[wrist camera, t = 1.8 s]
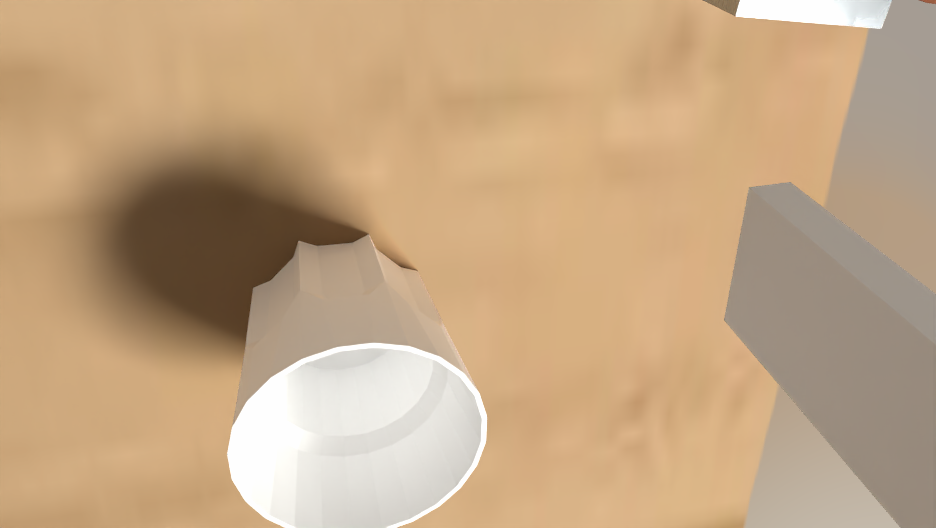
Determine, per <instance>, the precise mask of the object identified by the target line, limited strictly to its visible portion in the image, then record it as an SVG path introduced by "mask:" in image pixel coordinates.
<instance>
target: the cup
mask: <svg viewBox="0 0 936 528" xmlns="http://www.w3.org/2000/svg"><path fill="white" fill-rule="evenodd" d="M486 429H487V416H486V412H485V409H484V406H483V403H482V400H481V396H480V394H479V392H478V390H477V388H476V386H475V384H474V382H473V380H472V378H471V376H470V374H469V372H468V370H467V369H466V367H465V365H464V363H463V361H462V359H461V357H460V355H459V353H458V351H457V349H456V347H455V345H454V343H453V341H452V340H451V338H450V336H449V334H448V332H447V330H446V328H445V326H444V324H443V322H442V320H441V318H440V315H439V313H438V311H437V309H436V307H435V305H434V303H433V301H432V299H431V297H430V295H429V293H428V291H427V289H426V287H425V285H424V282H423V280H422V278H421V276H420V274H419V272H418V271H416V270H411V269H407V268H402V267H400V266H398V265H397V264H396V263H394V262H393V261H392V260H390V259H389V258H388V257H386V256H385V255H384V254H382V253H381V252H380V251H378V250H377V249H376V247H375V245H374V243H373V241H372V239H371V237H370V235H369V234H368V235H366V236H364V237H362V238H360V239H359V240H357V241H355V242H353V243H344V244H333V245H322V246H315V245H312V244H309V243H305V242H302V241H298V244H297V247H296V250H295V254H294V257H293V258H292V259H291V260H290V261H289V262H288V263H287V264H286V265H285V266H284V267H283V268H282V269H281V270H280V271H279V272H278V273H277V274H276V275H275V276H274V277H273V279H272V280H270V281H268V282H266V283H263V284H261V285H258V286H256V287H254V288H253V293H252V300H251V308H250V315H249V322H248V330H247V337H246V346H245V353H244V359H243V365H242V371H241V377H240V383H239V389H238V396H237V402H236V408H235V414H234V419H233V425H232V431H231V436H230V442H229V447H228V453H227V455H228V461H229V466H230V471H231V477H232V480H233V482H234V484H235V485H236V487H237V489H238V490H239V492H240V493H241V495H242V497H243V498H244V500H245V501H246V502H247V503H248V504H249V505H250V506H251V507H253V508H254V509H255V510H256V511H257V512H259V513H260V514H261V515H262V516H263V517H264V518H266V519H268V520H270V521H272V522H274V523H276V524H278V525H281V526H283V527H285V528H396V527H399V526H402V525H404V524H407V523H410V522H413V521H415V520H416V519H418V518H420V517H422V516H423V515H425V514H427V513H429V512H430V511H432V510H434V509H436V508H437V507H439V506H440V505H441V504H443V503H444V502H445V501H446V500H447V499H448V498H449V497H451V496H452V495H453V494H454V493H455V492H456V491H457V490H459V489H460V488H461V487H462V485H463V484H464V483H465V481H466V480H467V478H468V477H469V476H470V474H471V473H472V472H473V470H474V469H475V467H476V466H477V464H478V461H479V459H480V456H481V453H482V451H483V448H484V445H485V443H486Z"/></svg>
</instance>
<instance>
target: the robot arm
mask: <svg viewBox="0 0 936 528" xmlns="http://www.w3.org/2000/svg"><path fill="white" fill-rule="evenodd" d="M724 321H725V322H726V323H727V324H728V325H729V326H730V328H731V329H732V330H733V331H734V332H735V334H736V335H737V336H738V337H739V338H740V339H741V341H742V342H743V343H744V344H745V345H746V346H747V348H748V349H749V350H750V351H751V352H752V354H753V355H754V356H755V357H756V358H757V359H758V361H759V362H760V363H761V364H762V365H763V366H764V368H765V369H766V370H767V371H768V372H769V373H770V375H771V376H772V377H773V378H774V379H775V381H776V382H777V383H778V384H779V385H780V386H781V388H782V389H783V390H784V391H785V392H786V393H787V395H788V396H789V397H790V398H791V399H792V400H793V402H794V403H795V404H796V405H797V406H798V408H799V409H800V410H801V411H802V412H803V413H804V415H805V416H806V417H807V418H808V419H809V421H810V422H811V423H812V424H813V425H814V426H815V428H816V429H817V430H818V431H819V432H820V433H821V435H822V436H823V437H824V438H825V439H826V440H827V442H828V443H829V444H830V445H831V446H832V448H833V449H834V450H835V451H836V452H837V453H838V455H839V456H840V457H841V458H842V459H843V460H844V462H845V463H846V464H847V465H848V466H849V468H850V469H851V470H852V471H853V472H854V473H855V475H856V476H857V477H858V478H859V479H860V480H861V482H862V483H863V484H864V485H865V486H866V487H867V489H868V490H869V491H870V492H871V493H872V495H873V496H874V497H875V498H876V499H877V500H878V502H879V503H880V504H881V505H882V506H883V507H884V509H885V510H886V511H887V512H888V513H889V514H890V516H891V517H892V518H893V519H894V520H895V521H896V523H897V524H898V525H899V526H900V527H901V528H936V294H935V293H934V292H932V291H931V290H930V289H928V288H927V287H926V286H925V285H923V284H922V283H921V282H919V281H918V280H917V279H915V278H914V277H913V276H912V275H910V274H909V273H907V272H906V271H905V270H904V269H902V268H901V267H900V266H898V265H897V264H896V263H895V262H893V261H892V260H891V259H889V258H888V257H887V256H886V255H884V254H883V253H882V252H880V251H879V250H878V249H876V248H875V247H874V246H873V245H871V244H870V243H869V242H867V241H866V240H865V239H863V238H862V237H861V236H860V235H858V234H857V233H856V232H854V231H853V230H852V229H850V228H849V227H848V226H847V225H845V224H844V223H843V222H841V221H840V220H839V219H837V218H836V217H835V216H833V215H832V214H831V213H830V212H828V211H827V210H826V209H824V208H823V207H822V206H821V205H819V204H818V203H817V202H815V201H814V200H813V199H811V198H810V197H809V196H808V195H806V194H805V193H804V192H802V191H801V190H800V189H798V188H797V187H796V186H795V185H793V184H792V183H791V182H788V183H780V184H772V185H764V186H756V187H749V191H748V196H747V201H746V207H745V212H744V217H743V223H742V228H741V233H740V238H739V244H738V249H737V254H736V260H735V265H734V270H733V276H732V281H731V286H730V291H729V297H728V302H727V307H726V313H725V318H724Z"/></svg>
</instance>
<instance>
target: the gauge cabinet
mask: <svg viewBox="0 0 936 528" xmlns="http://www.w3.org/2000/svg"><path fill="white" fill-rule="evenodd" d="M703 1H706V2H708V3H710V4H712V5H714V6H716V7H718V8H720V9H722V10H724V11H726V12H728V13H730V14H732V15H734V16H738V17H750V18H762V19H774V20H785V21H797V22H809V23H821V24H833V25H845V26H856V27H868V28H880V29H881V28H882V25H883V22H884V20H885V17H886V15H887V12H888V9H889V7H890V4H891V2H892V0H703Z"/></svg>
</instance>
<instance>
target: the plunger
mask: <svg viewBox="0 0 936 528" xmlns="http://www.w3.org/2000/svg"><path fill="white" fill-rule="evenodd" d="M920 1H923V2H926V3H932V4H936V0H920Z"/></svg>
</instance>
